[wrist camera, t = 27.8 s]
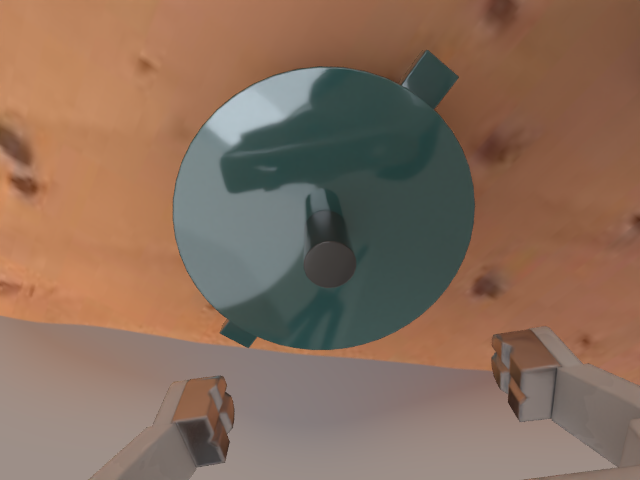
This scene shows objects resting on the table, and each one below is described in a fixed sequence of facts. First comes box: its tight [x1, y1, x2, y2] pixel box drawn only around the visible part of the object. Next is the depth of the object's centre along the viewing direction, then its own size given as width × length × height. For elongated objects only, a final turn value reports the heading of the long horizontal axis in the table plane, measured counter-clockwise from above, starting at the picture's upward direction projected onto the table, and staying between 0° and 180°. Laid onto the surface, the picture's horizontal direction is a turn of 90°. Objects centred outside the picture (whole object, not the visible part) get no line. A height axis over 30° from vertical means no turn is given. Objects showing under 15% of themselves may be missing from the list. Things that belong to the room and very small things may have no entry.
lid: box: [173, 66, 475, 350], centre depth 22 cm, size 18×18×6 cm
